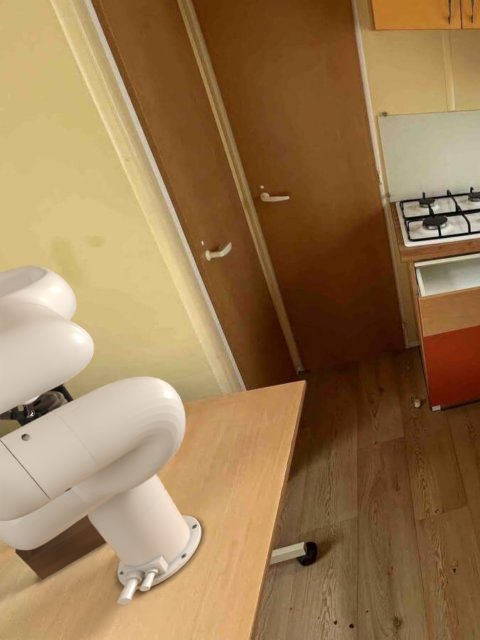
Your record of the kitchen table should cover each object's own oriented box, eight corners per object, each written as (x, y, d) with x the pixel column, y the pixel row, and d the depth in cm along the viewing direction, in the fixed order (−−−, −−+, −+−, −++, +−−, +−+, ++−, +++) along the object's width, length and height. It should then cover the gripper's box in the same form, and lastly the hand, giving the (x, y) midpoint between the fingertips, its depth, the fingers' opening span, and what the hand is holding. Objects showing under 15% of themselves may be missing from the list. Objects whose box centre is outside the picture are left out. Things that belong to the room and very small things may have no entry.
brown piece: (99, 500, 89) (79, 472, 85) (107, 541, 82) (85, 514, 78) (39, 532, 83) (15, 504, 79) (42, 580, 76) (15, 552, 72)
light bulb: (54, 455, 81) (11, 399, 75) (90, 436, 85) (53, 380, 79) (62, 470, 79) (19, 412, 72) (100, 449, 83) (62, 392, 76)
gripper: (-20, 370, 63) (43, 451, 71) (59, 307, 78) (103, 380, 86) (-84, 379, 61) (-12, 461, 69) (9, 313, 76) (59, 387, 84)
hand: (51, 416), depth 78 cm, fingers closed on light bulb, 5 cm apart
